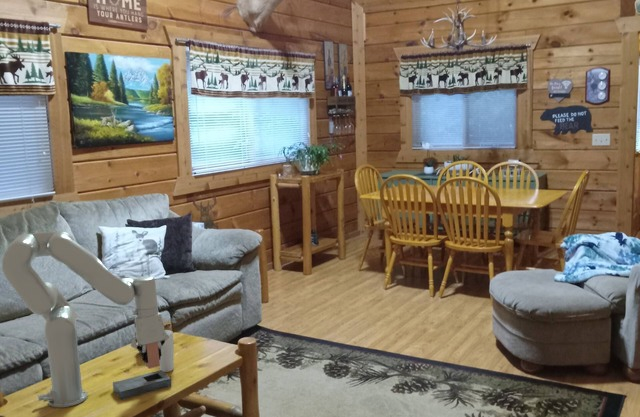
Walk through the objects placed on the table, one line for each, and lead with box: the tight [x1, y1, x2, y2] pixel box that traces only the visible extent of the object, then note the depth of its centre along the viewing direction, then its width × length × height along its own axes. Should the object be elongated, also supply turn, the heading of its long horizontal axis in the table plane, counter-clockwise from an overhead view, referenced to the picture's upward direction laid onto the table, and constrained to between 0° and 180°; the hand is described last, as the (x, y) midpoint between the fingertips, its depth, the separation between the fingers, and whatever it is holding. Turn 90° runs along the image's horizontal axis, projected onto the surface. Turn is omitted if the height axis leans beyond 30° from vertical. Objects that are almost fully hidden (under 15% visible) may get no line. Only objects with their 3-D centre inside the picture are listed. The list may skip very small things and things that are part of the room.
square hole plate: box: [112, 369, 172, 401], centre depth 225 cm, size 18×10×3 cm, turn 123°
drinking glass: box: [158, 329, 175, 373], centre depth 240 cm, size 7×7×15 cm
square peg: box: [144, 342, 160, 369], centre depth 226 cm, size 4×4×9 cm
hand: (152, 359), depth 226 cm, fingers closed on square peg, 4 cm apart
